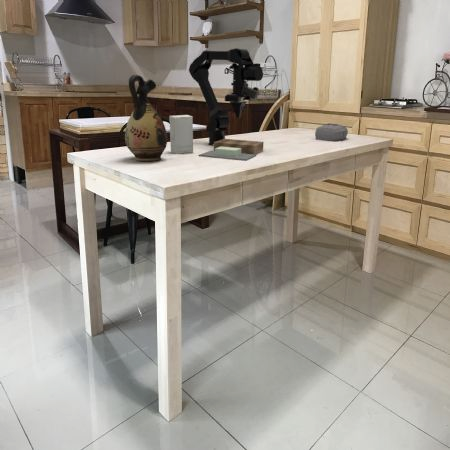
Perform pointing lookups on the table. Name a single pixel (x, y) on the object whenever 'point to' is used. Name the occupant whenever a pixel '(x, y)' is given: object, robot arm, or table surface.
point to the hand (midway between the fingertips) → (238, 118)
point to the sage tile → (228, 151)
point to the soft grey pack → (331, 132)
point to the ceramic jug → (144, 124)
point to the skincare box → (181, 134)
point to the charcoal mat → (240, 157)
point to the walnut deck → (241, 145)
